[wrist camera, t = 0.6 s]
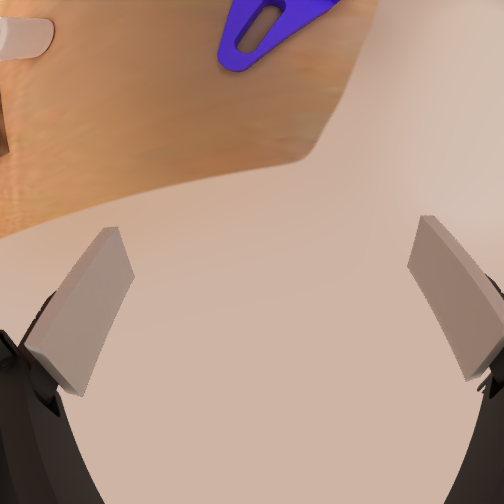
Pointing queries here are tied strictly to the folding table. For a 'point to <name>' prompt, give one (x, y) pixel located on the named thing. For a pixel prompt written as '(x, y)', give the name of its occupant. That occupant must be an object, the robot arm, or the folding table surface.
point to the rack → (2, 134)
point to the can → (24, 37)
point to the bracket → (293, 19)
